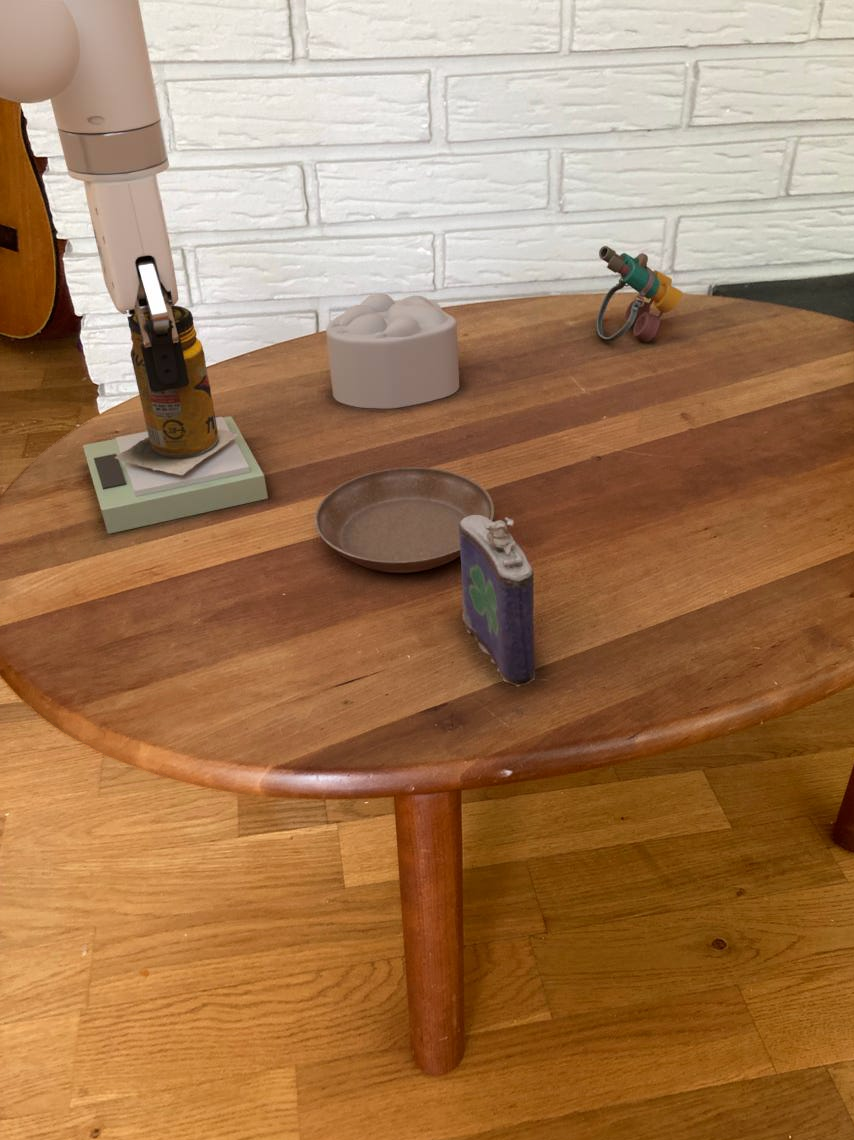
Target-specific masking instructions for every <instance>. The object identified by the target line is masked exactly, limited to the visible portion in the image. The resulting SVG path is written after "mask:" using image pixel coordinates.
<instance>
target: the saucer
mask: <svg viewBox="0 0 854 1140" xmlns="http://www.w3.org/2000/svg"><path fill="white" fill-rule="evenodd" d="M471 515H481V516H484V517H487V518H488V519H489V520H491V521H493V520H494V516H495V506H494V502H493V499H492V497H491V495H490V493H489V492H488V491H487V490H486V489H485V488H484V487H483V486H481V484H479V483H477V482H476V481H475V480H472V479H471V478H469V477H467V476H464V475H462V474H459V473H456V472H453V471H448V470H445V469H438V468H432V467H420V466H419V467H415V466H412V467H411V466H410V467H395V468H393V467H392V468H387V469H381V470H377V471H372V472H369V473H366V474H362V475H359V476H357V477H354V478H352V479H349V480H348V481H346V482H344V483H342V484H340V485H338V486H337V487H336V488H334V489H333V490H332V491H330V492H329V493H328V494H327V495H326V496H325V497H324V498H323V499H322V500H321V501H320V503H319V505H318V506H317V508H316V511H315V515H314V525H315V528H316V531H317V534H319V536H320V537H321V539H322V540H323V541H324V542H325V543H326V544H327V545H328V546H329V547H330V548H331V549H332V550H333V551H335V552H336V553H338V554H339V555H340V556H342V557H343V558H345V559H347V560H348V561H350V562H352V563H354V564H357V565H359V566H361V567H364V568H367V569H370V570H374V571H379V572H383V573H392V574H393V573H394V574H396V573H397V574H402V573H403V574H405V573H407V574H408V573H417V572H422V571H428V570H431V569H435V568H438V567H440V566H443V565H445V564H446V565H447V564H448V563H450V562H452V561H454V560H456V559H458V558H459V557H461V554H460V536H459V522H460V521H461V520H462V519H463V518H466V517H467V516H471Z"/></svg>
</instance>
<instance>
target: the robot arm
mask: <svg viewBox="0 0 854 1140" xmlns="http://www.w3.org/2000/svg"><path fill="white" fill-rule="evenodd" d="M140 7H141V6H140V1H139V0H0V98H1V99H3V100H7V101H10V102H14V103H20V104H37V103H43V102H46V101H49V100H50V104H51V108H52V111H53V116H54V120H55V124H56V128H57V132H58V136H59V140H60V144H61V149H62V153H63V157H64V161H65V166H66V169H67V173H68V176H69V178H72V179H74V180H76V181H82V182H83V184H84V185H83V186H84V190H85V197H86V202H87V207H88V212H89V217H90V221H91V226H92V230H93V234H94V238H95V243H96V248H97V252H98V256H99V262H100V266H101V267H100V268H101V271H102V272H101V273H102V276H103V281H104V284H105V287H106V289H107V292H108V294H109V296H110V299H111V301H112V303H113V305H114V307H115V310H116V311H118V312H119V313H121V314H123V315H127V314H129V316H126V317H127V323H129V318H130V316H131V315H132V314H133V313H136V316H137V320H138V324H139V328H140V332H141V336H142V340H143V344H141V345H140V347H141V351H142V356H143V360H144V365H145V369H146V374H147V378H148V383H149V387H150V389H151V391H153V392H159V391H165V390H170V389H176V388H181V387H186V386H187V385H188V384H189V380H188V375H187V370H186V365H185V360H184V354H183V349H182V344H181V340H180V338H178V334H177V330H176V325H175V321H174V317H173V313H172V309H171V306H176V304H177V303H178V301H179V291H178V284H177V283H178V282H177V277H176V272H175V265H174V259H173V253H172V249H171V241H170V238H169V237H170V236H169V233H168V232H169V231H168V227H167V222H166V217H165V212H164V207H163V202H162V197H161V192H160V188H159V181H158V178H157V175H158V174H160V173H163V172H164V171H166V170H168V168H169V167H170V162H169V157H168V155H169V154H168V151H167V144H166V140H165V135H164V129H163V123H162V118H161V114H160V108H159V101H158V98H157V92H156V87H155V81H154V75H153V70H152V65H151V60H150V54H149V48H148V43H147V38H146V32H145V28H144V23H143V17H142V11H141V8H140ZM144 314H150V318H151V320H147V324H146V321H145V317H144ZM129 330H130V329H129ZM130 332H131V330H130Z"/></svg>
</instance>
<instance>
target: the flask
mask: <svg viewBox="0 0 854 1140" xmlns="http://www.w3.org/2000/svg"><path fill="white" fill-rule="evenodd" d="M504 520H505V521H506V522H505V521H503V520H502V519H499V520H495V521H493V520H492V521H491V520H489V519H488V518H487V517H484V516H481V515H471V516H467V517H466V518H463V519H462V520H461V521H460V522H459V536H460V554H461V555H460V566H461V567H460V568H461V569H460V571H461V599H462V600H461V601H462V604H461V605H462V614H461V617H462V622H463V624H464V627H465V629H466V632H467V633H468V634H470V635H472V636H473V637H474V639H475V640H476V644H477V645H478V646H479V649H480V650H481V651H482V652H483V653H484V654H487V655H488V656H490V658H491V660H490V662H491V663H492V664H495V666H496V667H497V670H496V672H498V673H499V675H500V677H501V678H502V680H503V681H504V682H505V683H507V684H511V685H512V686H513V685H514V686H516V687H517V688H519V687H520V686H525V685H528V684H530V683H531V682H533V681H534V680H535V677H536V665H535V663H536V662H535V634H534V631H535V630H534V627H535V626H534V600H535V599H534V579H535V578H534V576H535V572H534V569H533V567H532V565H531V563H530V561H529V559H528V557H527V555H526V554H525V552H524V550H523V549H522V547H521V546H520V544H519V543H518V542H517V541H516V540H515V539H514V537H513V536H512V534H511V533H510V532H509V531H508V526H510V527H513V526H514V524H515V522H514V519H512V518H508V517H507V516H505V517H504Z"/></svg>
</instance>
